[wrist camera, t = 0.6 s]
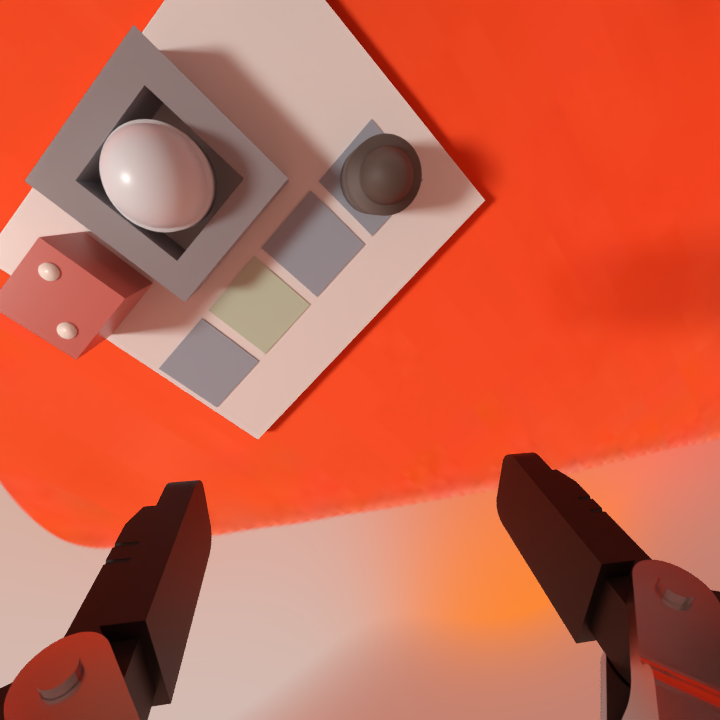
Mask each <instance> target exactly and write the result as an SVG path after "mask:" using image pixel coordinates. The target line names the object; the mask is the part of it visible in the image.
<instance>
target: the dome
mask: <svg viewBox="0 0 720 720" xmlns="http://www.w3.org/2000/svg"><path fill="white" fill-rule="evenodd" d="M99 171H100V177H101V181H102V184H103V187H104V189H105V192H106V194H107V196H108V197H109V199H110V201H111V202H112V203H113V205H114V206H115V207H116V209H117V210H118V211H119V212H120V213H121V214H122V215H123V216H125V217H126V218H127V219H128V220H130V221H131V222H133V223H134V224H136V225H138V226H140V227H142V228H145V229H148V230H151V231H156V232H175V231H179V230H184V229H188V228H191V227H193V226H195V225H197V224H199V223H200V222H201V221H203V220H204V219H205V218H206V217H207V216H208V214H209V213H210V211H211V210H212V208H213V206H214V203H215V200H216V194H217V180H216V175H215V171H214V168H213V166H212V163H211V161H210V159H209V158H208V156H207V154H206V153H205V152H204V150H203V149H202V148H201V147H200V146H199V145H198V144H197V143H196V142H195V141H194V140H193V139H192V138H190V137H189V136H187V135H186V134H184V133H183V132H181V131H180V130H178V129H177V128H175V127H173V126H171V125H169V124H167V123H164V122H161V121H157V120H151V119H138V120H133V121H129V122H127V123H124V124H123V125H121V126H119V127H118V128H116V129H115V130H114V131H113V132H112V133H111V134H110V135H109V136H108V138H107V140H106V141H105V143H104V145H103V148H102V151H101V155H100V161H99Z"/></svg>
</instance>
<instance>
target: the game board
mask: <svg viewBox="0 0 720 720" xmlns="http://www.w3.org/2000/svg"><path fill="white" fill-rule="evenodd" d="M142 34H143V35H144V36H145V37H146V38H147V39H148V40H149V41H150V42H151V43H152V44H153V45H154V46H155V47H156V48H157V49H158V50H159V51H160V52H161V53H162V54H163V55H165V56H166V57H167V58H168V59H169V60H170V61H171V62H172V63H173V64H174V65H175V66H176V67H177V68H178V69H179V70H180V71H181V72H182V73H183V74H184V75H185V76H186V77H187V78H188V79H189V80H190V81H191V82H192V83H193V84H194V85H195V86H196V87H197V88H198V89H199V90H200V91H201V92H202V93H203V94H204V95H205V96H206V97H207V98H208V99H209V100H210V101H211V102H212V103H213V104H214V105H215V106H216V107H217V108H218V109H219V110H220V111H221V112H222V113H223V114H224V115H225V116H226V117H227V118H228V119H229V120H230V121H231V122H232V123H233V124H234V125H235V126H236V127H237V128H238V129H239V130H240V131H241V132H242V133H243V134H244V135H245V136H246V137H247V138H248V139H249V140H250V141H251V142H252V143H253V144H254V145H255V146H256V147H257V148H258V149H259V150H260V151H261V152H262V153H263V154H264V155H265V156H266V157H267V158H268V159H269V160H270V161H271V162H272V163H274V164H275V165H276V166H277V167H278V168H279V169H280V170H281V171H282V172H283V173H284V174H285V175H286V176H287V177H288V179H289V182H288V183H287V185H286V186H285V187H284V188H283V189H282V191H281V192H280V193H279V194H278V195H277V196H276V198H275V199H274V200H273V201H272V202H271V204H270V205H269V206H268V207H267V208H266V210H265V211H264V212H263V213H262V214H261V216H260V217H259V218H258V219H257V220H256V222H255V223H254V224H253V225H252V226H251V228H250V229H249V230H248V231H247V232H246V234H245V235H244V236H243V237H242V238H241V240H240V241H239V242H238V243H237V244H236V245H235V247H234V248H233V249H232V250H231V251H230V253H229V254H228V255H227V256H226V257H225V259H224V260H223V261H222V262H221V263H220V265H219V266H218V267H217V268H216V269H215V271H214V272H213V273H212V274H211V275H210V277H209V278H208V279H207V280H206V281H205V283H204V284H203V285H202V286H201V287H200V289H199V290H198V291H197V292H196V293H195V294H194V295H192V296H191V297H190V298H189V299H188V300H187V301H186V302H184V301H183V300H181V299H180V298H179V297H177V296H176V295H175V294H173V293H172V292H171V291H169V290H168V289H167V288H165V287H164V286H163V285H161V284H160V283H159V282H157V281H156V280H155V279H154V278H152V277H151V276H150V275H148V274H147V273H146V272H144V271H143V270H142V269H140V268H139V267H138V266H136V265H135V264H134V263H132V262H131V261H130V260H128V259H127V258H126V257H124V256H123V255H122V254H120V253H119V252H118V251H116V250H115V249H114V248H112V247H111V246H110V245H109V244H107V243H106V242H105V241H103V240H102V239H101V238H99V237H98V236H97V235H95V234H94V233H93V232H91V231H90V230H89V229H87V228H86V227H85V226H83V225H82V224H81V223H79V222H78V221H77V220H75V219H74V218H73V217H71V216H70V215H69V214H67V213H66V212H65V211H64V210H62V209H61V208H60V207H58V206H57V205H56V204H54V203H53V202H52V201H50V200H49V199H48V198H46V197H45V196H44V195H42V194H41V193H40V192H38V191H37V190H36V189H34V188H32V189H31V191H30V192H29V194H28V195H27V196H26V198H25V199H24V201H23V202H22V204H21V205H20V206H19V208H18V209H17V211H16V212H15V213H14V215H13V216H12V218H11V219H10V221H9V222H8V223H7V225H6V226H5V228H4V229H3V231H2V232H1V233H0V269H2V270H3V271H5V272H6V273H8V274H9V275H12V273H13V272H14V271H15V269H16V268H17V267H18V265H19V264H20V262H21V261H22V260H23V258H24V257H25V256H26V254H27V253H28V251H29V250H30V249H31V247H32V246H33V245H34V243H35V242H36V240H37V239H38V238H39V237H43V236H52V235H60V234H68V233H76V232H86V233H87V234H88V235H90V236H91V237H92V238H94V239H95V240H96V241H98V242H99V243H100V244H102V245H103V246H104V247H106V248H107V249H108V250H110V251H111V252H112V253H114V254H115V255H116V256H118V257H119V258H120V259H122V260H123V261H124V262H126V263H127V264H128V265H130V266H131V267H132V268H134V269H135V270H136V271H138V272H139V273H140V274H142V275H143V276H144V277H146V278H147V279H148V280H150V281H151V282H152V283H153V284H152V285H151V287H150V288H149V289H148V290H147V292H146V293H145V294H144V295H143V296H142V298H141V299H140V300H139V301H138V303H137V304H136V305H135V306H134V308H133V309H132V310H131V311H130V313H129V314H128V315H127V316H126V317H125V319H124V320H123V321H122V322H121V324H120V325H119V326H118V327H117V329H116V330H115V331H114V332H113V334H112V335H110V336H109V337H108V338H106V339H107V340H109V341H110V342H112V343H113V344H115V345H116V346H118V347H119V348H121V349H122V350H124V351H125V352H127V353H128V354H130V355H131V356H133V357H134V358H136V359H137V360H139V361H140V362H142V363H143V364H145V365H146V366H148V367H149V368H151V369H152V370H154V371H155V372H157V373H158V374H160V375H161V376H163V377H164V378H166V379H167V380H169V381H170V382H172V383H173V384H175V385H176V386H178V387H179V388H181V389H183V390H184V391H186V392H187V393H189V394H190V395H192V396H193V397H195V398H196V399H198V400H199V401H201V402H202V403H204V404H205V405H207V406H208V407H210V408H211V409H213V410H214V411H216V412H217V413H219V414H220V415H222V416H223V417H225V418H226V419H228V420H229V421H231V422H232V423H234V424H235V425H237V426H238V427H240V428H241V429H243V430H244V431H246V432H247V433H249V434H250V435H252V436H253V437H255V438H256V439H259V438H260V437H261V436H262V435H263V434H264V433H265V432H266V431H267V430H268V429H269V427H270V426H271V425H272V424H273V423H274V422H275V421H276V420H277V419H278V418H279V417H280V416H281V415H282V414H283V413H284V412H285V411H286V410H287V409H288V407H289V406H290V405H291V404H292V403H293V402H294V401H295V400H296V399H297V398H298V397H299V396H300V395H301V394H302V393H303V392H304V391H305V390H306V388H307V387H308V386H309V385H310V384H311V383H312V382H313V381H314V380H315V379H316V378H317V377H318V376H319V375H320V374H321V373H322V372H323V371H324V370H325V368H326V367H327V366H328V365H329V364H330V363H331V362H332V361H333V360H334V359H335V358H336V357H337V356H338V355H339V354H340V353H341V352H342V351H343V350H344V348H345V347H346V346H347V345H348V344H349V343H350V342H351V341H352V340H353V339H354V338H355V337H356V336H357V335H358V334H359V333H360V332H361V331H362V329H363V328H364V327H365V326H366V325H367V324H368V323H369V322H370V321H371V320H372V319H373V318H374V317H375V316H376V315H377V314H378V313H379V312H380V311H381V309H382V308H383V307H384V306H385V305H386V304H387V303H388V302H389V301H390V300H391V299H392V298H393V297H394V296H395V295H396V294H397V293H398V292H399V290H400V289H401V288H402V287H403V286H404V285H405V284H406V283H407V282H408V281H409V280H410V279H411V278H412V277H413V276H414V275H415V274H416V273H417V272H418V270H419V269H420V268H421V267H422V266H423V265H424V264H425V263H426V262H427V261H428V260H429V259H430V258H431V257H432V256H433V255H434V254H435V253H436V252H437V250H438V249H439V248H440V247H441V246H442V245H443V244H444V243H445V242H446V241H447V240H448V239H449V238H450V237H451V236H452V235H453V234H454V233H455V231H456V230H457V229H458V228H459V227H460V226H461V225H462V224H463V223H464V222H465V221H466V220H467V219H468V218H469V217H470V216H471V215H472V214H473V213H474V211H475V210H476V209H477V208H478V207H479V206H480V205H481V204H482V203H483V202H484V201H485V200H484V198H483V197H482V196H481V195H480V193H479V192H478V191H477V190H476V188H475V187H474V186H473V185H472V183H471V182H470V181H469V180H468V178H467V177H466V176H465V174H464V173H463V172H462V171H461V169H460V168H459V167H458V166H457V164H456V163H455V162H454V161H453V159H452V158H451V157H450V156H449V154H448V153H447V152H446V151H445V149H444V148H443V147H442V146H441V144H440V143H439V142H438V141H437V139H436V138H435V137H434V136H433V134H432V133H431V132H430V131H429V129H428V128H427V127H426V126H425V124H424V123H423V122H422V121H421V119H420V118H419V117H418V116H417V114H416V113H415V112H414V111H413V109H412V108H411V107H410V106H409V104H408V103H407V102H406V101H405V99H404V98H403V97H402V96H401V94H400V93H399V92H398V91H397V89H396V88H395V87H394V86H393V84H392V83H391V82H390V81H389V79H388V78H387V77H386V76H385V74H384V73H383V72H382V71H381V69H380V68H379V67H378V66H377V64H376V63H375V62H374V61H373V59H372V58H371V57H370V56H369V54H368V53H367V52H366V51H365V49H364V48H363V47H362V46H361V44H360V43H359V42H358V41H357V39H356V38H355V37H354V36H353V34H352V33H351V32H350V31H349V29H348V28H347V27H346V26H345V24H344V23H343V22H342V21H341V19H340V18H339V17H338V16H337V14H336V13H335V12H334V11H333V9H332V8H331V7H330V6H329V4H328V3H327V2H326V1H325V0H165V1H164V2H163V3H162V5H161V6H160V8H159V9H158V11H157V12H156V13H155V15H154V16H153V18H152V19H151V20H150V22H149V23H148V25H147V26H146V28H145V29H144V30H143V32H142ZM151 120H157V121H161V122H164V123H167V124H169V125H171V126H173V127H175V128H177V129H178V130H180V131H181V132H183V133H184V134H186V135H187V136H189V137H190V138H192V139H193V140H194V141H195V142H196V143H197V144H198V145H199V146H200V147H201V148H202V149H203V150H204V152H205V153H206V154H207V156H208V158H209V159H210V161H211V163H212V166H213V168H214V171H215V175H216V180H217V194H216V200H215V203H214V206H213V208H212V210H211V211H210V213H209V214H208V216H207V217H206V218H205V219H204V220H203V221H201V222H200V223H199V224H197V225H195V226H193V227H191V228H188V229H184V230H179V231H175V232H164V233H165V234H166V235H167V236H169V237H170V238H171V239H172V240H174V241H175V242H176V243H177V244H179V245H180V246H181V247H182V248H183V249H185V250H187V248H188V247H189V246H190V245H191V243H192V242H193V241H194V240H195V239H196V237H197V236H198V235H199V234H200V232H201V231H202V230H203V229H204V227H205V226H206V225H207V224H208V223H209V221H210V220H211V219H212V218H213V216H214V215H215V214H216V213H217V211H218V210H219V209H220V208H221V207H222V205H223V204H224V203H225V202H226V200H227V199H228V198H229V197H230V195H231V194H232V193H233V192H234V191H235V189H236V188H237V187H238V186H239V184H240V183H241V182H242V181H243V179H244V178H243V177H242V176H241V175H240V174H239V173H238V172H237V171H235V170H234V169H233V168H232V167H231V166H230V165H229V164H228V163H227V162H226V161H225V160H224V159H223V158H222V157H221V156H220V155H218V154H217V153H216V152H215V151H214V150H213V149H212V148H211V147H210V146H209V145H208V144H207V143H206V142H205V141H204V140H203V139H201V138H200V137H199V136H198V135H197V134H196V133H195V132H194V131H193V130H192V129H191V128H190V127H189V126H188V125H187V124H186V123H184V122H183V121H182V120H181V119H180V118H179V117H178V116H177V115H176V114H175V113H174V112H173V111H172V110H171V109H170V108H169V107H168V106H166V105H165V104H164V103H163V104H162V106H161V107H160V108H159V110H158V111H157V112H156V114H155V115H154V116H153V118H152V119H151ZM384 133H387V134H394V135H397V136H400V137H401V138H403V139H405V140H406V141H407V142H409V143H410V145H411V146H412V147H413V148H414V150H415V151H416V153H417V155H418V157H419V160H420V163H421V169H422V179H421V185H420V188H419V191H418V193H417V196H416V197H415V199H414V200H413V202H412V203H411V204H410V205H409V206H408V207H407V208H406V209H404V210H403V211H401V212H399V213H397V214H394V215H389V216H380V215H371V214H364V213H361V212H359V211H357V210H356V209H354V208H353V207H352V206H351V205H350V204H349V203H348V202H347V200H346V199H345V197H344V195H343V193H342V190H341V184H340V175H341V170H342V166H343V164H344V162H345V160H346V158H347V157H348V156H349V155H350V154H351V153H352V152H353V151H354V150H355V149H356V148H357V147H358V146H359V145H360V144H362V143H363V142H364V141H365V140H367V139H368V138H370V137H372V136H374V135H378V134H384Z"/></svg>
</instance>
